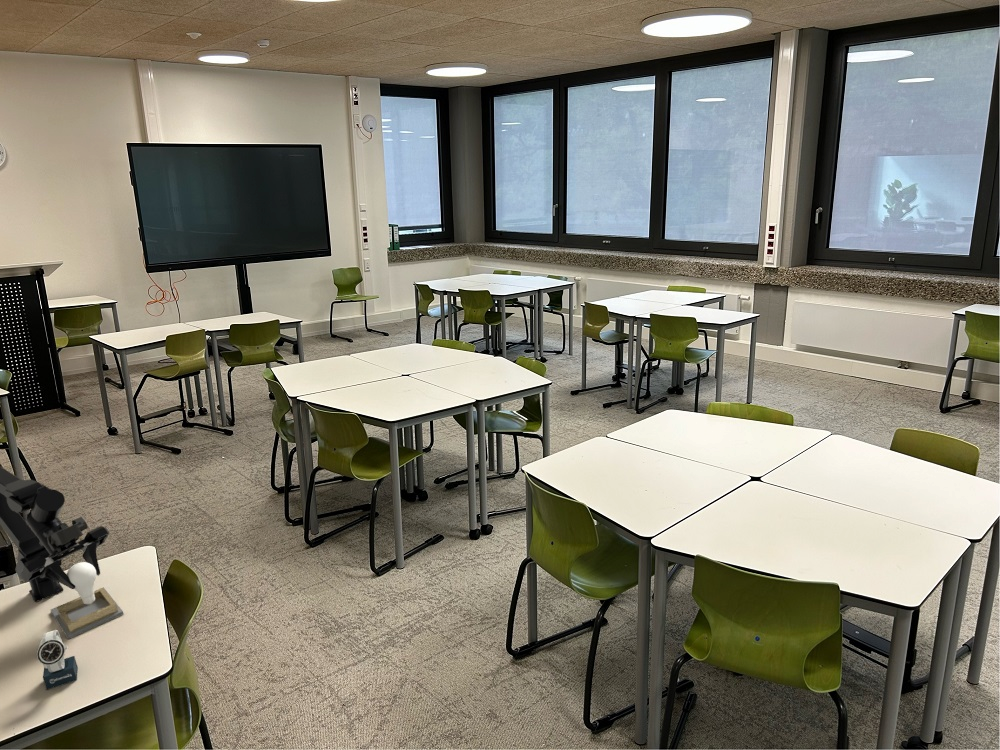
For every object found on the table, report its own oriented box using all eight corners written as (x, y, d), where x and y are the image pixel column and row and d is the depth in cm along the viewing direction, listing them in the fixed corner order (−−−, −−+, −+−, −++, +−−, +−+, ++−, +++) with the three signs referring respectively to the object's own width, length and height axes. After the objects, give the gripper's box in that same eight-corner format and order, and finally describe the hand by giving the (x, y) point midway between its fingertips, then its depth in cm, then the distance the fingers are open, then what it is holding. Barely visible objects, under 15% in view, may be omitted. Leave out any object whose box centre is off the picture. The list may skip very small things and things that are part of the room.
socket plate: (51, 612, 172) (48, 602, 171) (104, 589, 180) (101, 580, 179) (68, 639, 162) (65, 628, 161) (123, 614, 170) (121, 604, 169)
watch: (45, 695, 145) (31, 651, 141) (49, 672, 152) (35, 629, 148) (76, 685, 147) (63, 641, 144) (78, 662, 154) (66, 620, 151)
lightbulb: (92, 612, 165) (79, 573, 162) (69, 611, 167) (56, 571, 163) (110, 596, 171) (98, 557, 167) (88, 594, 172) (76, 556, 168)
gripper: (14, 532, 156) (54, 588, 154) (96, 495, 171) (133, 546, 169) (5, 554, 162) (43, 609, 160) (84, 517, 177) (120, 566, 175)
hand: (86, 581), depth 166 cm, fingers closed on lightbulb, 6 cm apart
